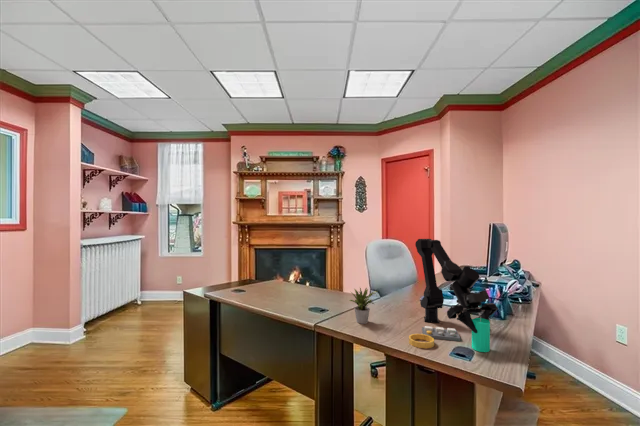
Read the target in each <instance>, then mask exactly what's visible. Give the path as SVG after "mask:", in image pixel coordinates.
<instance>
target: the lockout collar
mask: <svg viewBox="0 0 640 426" xmlns="http://www.w3.org/2000/svg"><path fill="white" fill-rule="evenodd" d="M418 340H420V341H418ZM424 341H426V342H424ZM408 344H409V345H411V346H412V347H415V348H418V349H432V348H434V347H435V339H434V338H432V337H431V336H428V335H425V334H423V333H412V334H410V335H408Z"/></svg>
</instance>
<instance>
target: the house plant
mask: <svg viewBox="0 0 640 426" xmlns="http://www.w3.org/2000/svg"><path fill="white" fill-rule="evenodd" d="M353 289H354V292H355V293H353V292H351V291H350V293H351V294H352V296H353V297H354V298H355V299H354V300H353V299H350V300H349V302H353V303H355V304H356V305H357V306H356V307H354V313H355V320H356V323H357V324H363V325H364V324H368V322H369V316H370V307H368V305H369V304H372V305H375V303H374V302H373V298H371V299H370V297H372V296H374V295H376V292H378V290H377V291H376V290H375V291H372V292H370V293H369V294H368V291H369V289H368V288H367V287H365V289H364V291H362V289H361V287H359V291H358V290H357V289H356V288H353Z"/></svg>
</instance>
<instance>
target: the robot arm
mask: <svg viewBox="0 0 640 426" xmlns="http://www.w3.org/2000/svg"><path fill="white" fill-rule="evenodd" d="M441 243H442V242H441V241H440V240H438V239H431V238H418V239H417V240H416V241H415V244H414V245H415V248H416V252H417V254H419V256H420V257H421V261H422V262H421V263H422V269H423V276H424V282H425V289H424V291H423V297H422V299H421V300H420V307H421V308H423V309H424V315H425V316H424V317H423V320H424V322H426V323H433V324H434V323H435V324H439V323H440V320H439V309H443V306H444V302H445V301H444V300H445V299H444V298H445V297H444V294H443V293H444V292H443V290H442V289H441V288H439V286H438V284H437V278H436V272H435V265H434V260H433V256H434V257H435V259H436V261H437V262H438V263H439V265H440V267H441V271H440V272H441V275H442V278H443V279H444V281H446V282H447V283H448V282H453V283H450V286H449V291H453V293H454V295H455V297H456V303H457V305H451V306H450V307H449V309H448V310H447V311H446V315H447V318H448V319H449V320H452V319H453V320H454V319H456V320H457V321H459V322H460V323H462V324H464V325H465V326H466V327H468V328H469V329H470V330H471V332H472V331H473V332H474V333H477V329H476V327H475V325H474V323H473V321H472V319H473V318H472V316H471V314H477V315H478V317H477V318H483V319H487V320H489V321H490V317H491V316H493V314H495V313H496V312H497V311H498V310H499V308H498V306H497V305H496V303H494V302H490V303H489V302H488V303H484V302H487V300H489V299H490V297H489V293H487V291H486V290H481V291H479V292H471V290H470V288H472V287H474V285H475V284H476V283H477V281H479V279H480V274H479V272H478V271H476V270H475V269H473V268H471V267H470V266H469V265H468V266H467V265H466V266H464V267H463V268H462V267H460V266H459V265H458V264H457V263H455V262H453V261H452V260H451V258H450V257H449V255H448V254H447V252H446V250H445V249H444V247H443V246H442V244H441ZM482 303H484V304H483V305H482ZM481 305H482V306H481ZM479 306H480V307H479ZM491 329H492V328H490V332H491V331H492V330H491Z"/></svg>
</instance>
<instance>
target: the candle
mask: <svg viewBox="0 0 640 426" xmlns="http://www.w3.org/2000/svg"><path fill="white" fill-rule="evenodd" d="M471 319H472V321H473V323H474V325H475V327H476V329H477V333H474V332H473V331H472V330H471V348H472V350H475V351H476V352H480V353H488V352H490V351H491V331H490V329H491V322H490V319H489V320H487V319H483V318H478V317H475V318H471Z"/></svg>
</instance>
